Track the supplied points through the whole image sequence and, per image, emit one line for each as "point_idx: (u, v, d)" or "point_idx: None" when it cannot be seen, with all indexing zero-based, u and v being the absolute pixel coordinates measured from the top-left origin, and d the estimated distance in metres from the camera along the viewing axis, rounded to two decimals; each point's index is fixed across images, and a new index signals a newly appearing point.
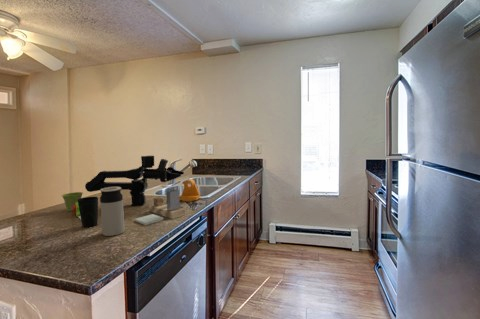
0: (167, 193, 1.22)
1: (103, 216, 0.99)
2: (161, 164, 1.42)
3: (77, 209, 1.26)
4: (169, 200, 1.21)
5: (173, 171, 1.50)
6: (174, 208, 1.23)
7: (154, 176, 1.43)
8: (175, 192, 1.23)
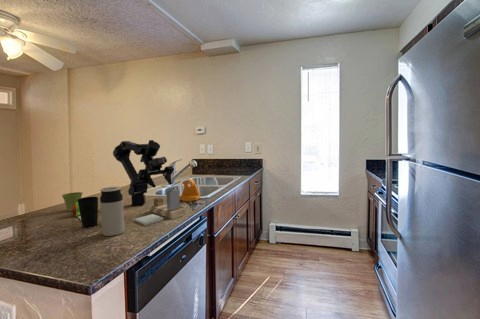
0: (167, 193, 1.22)
1: (103, 216, 0.99)
2: (153, 162, 1.28)
3: (77, 209, 1.26)
4: (169, 200, 1.21)
5: (167, 174, 1.34)
6: (174, 208, 1.23)
7: (145, 165, 1.33)
8: (175, 192, 1.23)
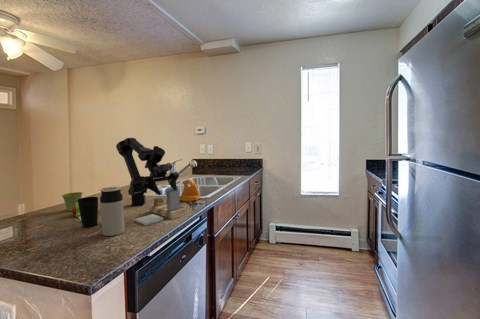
0: (167, 193, 1.22)
1: (103, 216, 0.99)
2: (158, 168, 1.25)
3: (77, 210, 1.25)
4: (169, 200, 1.21)
5: (172, 180, 1.31)
6: (174, 208, 1.23)
7: (150, 172, 1.30)
8: (175, 192, 1.23)
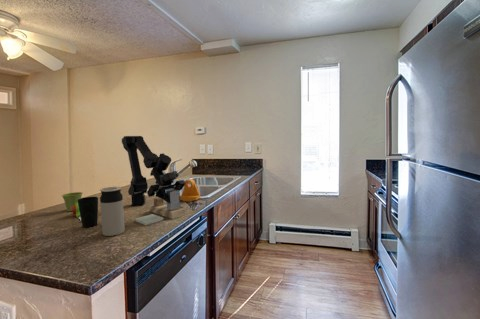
0: (167, 193, 1.22)
1: (103, 216, 0.99)
2: (164, 177, 1.22)
3: (77, 210, 1.24)
4: None
5: (175, 189, 1.27)
6: (174, 208, 1.23)
7: (156, 180, 1.27)
8: (175, 192, 1.23)
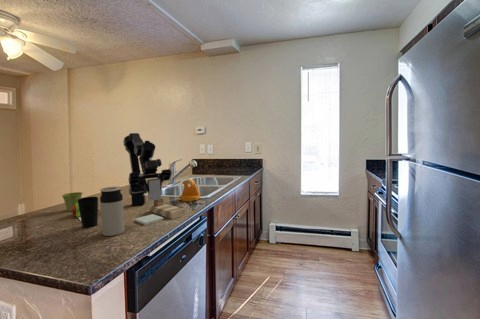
0: (147, 182, 1.16)
1: (103, 216, 0.99)
2: (145, 164, 1.17)
3: (77, 210, 1.24)
4: None
5: (158, 178, 1.21)
6: (154, 198, 1.16)
7: None
8: (155, 181, 1.16)
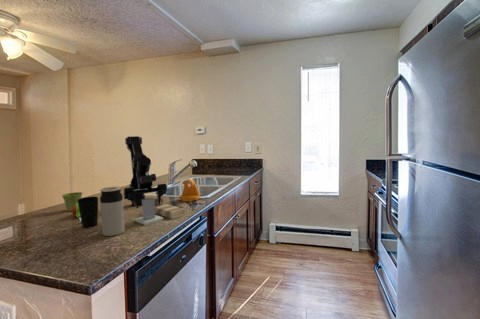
0: (142, 201, 1.16)
1: (103, 216, 0.99)
2: (140, 180, 1.17)
3: (77, 211, 1.23)
4: (142, 209, 1.15)
5: (158, 193, 1.21)
6: (148, 217, 1.16)
7: None
8: (149, 200, 1.16)
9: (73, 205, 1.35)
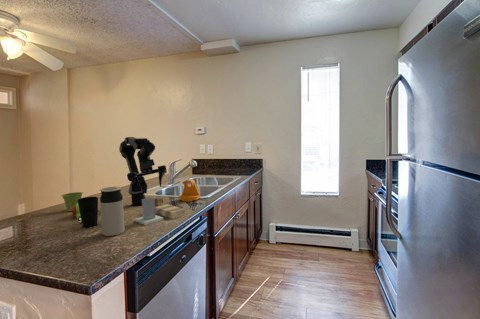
0: (142, 201, 1.16)
1: (103, 216, 0.99)
2: None
3: (77, 211, 1.23)
4: (142, 209, 1.15)
5: None
6: (148, 217, 1.16)
7: None
8: (149, 200, 1.16)
9: (73, 205, 1.35)
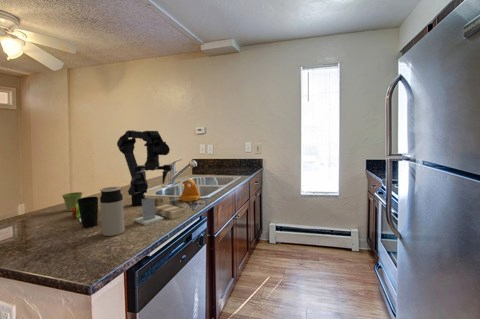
0: (142, 201, 1.16)
1: (103, 216, 0.99)
2: None
3: (77, 211, 1.22)
4: (142, 209, 1.15)
5: None
6: (148, 217, 1.16)
7: None
8: (149, 200, 1.16)
9: (73, 205, 1.35)
